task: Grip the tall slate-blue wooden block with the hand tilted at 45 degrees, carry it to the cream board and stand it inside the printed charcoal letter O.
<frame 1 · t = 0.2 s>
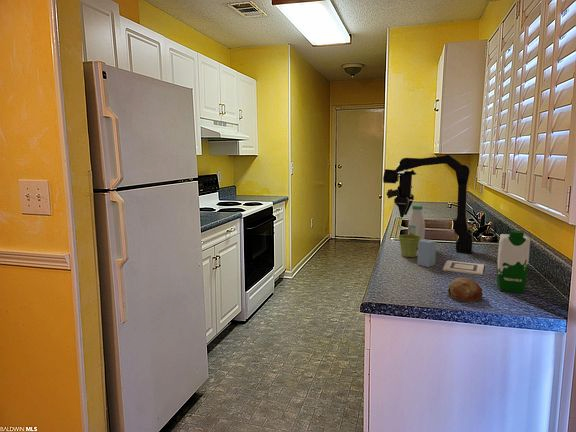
hand: (403, 216, 200), 15 cm above the worktop, tool pointing down, fingers open, 9 cm apart
bread roll: (464, 297, 131), on the worktop
milk carton: (510, 289, 138), on the worktop
plant pot: (408, 256, 183), on the worktop
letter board: (463, 268, 163), on the worktop
milk bottle: (415, 246, 200), on the worktop
blue block: (426, 264, 168), on the worktop
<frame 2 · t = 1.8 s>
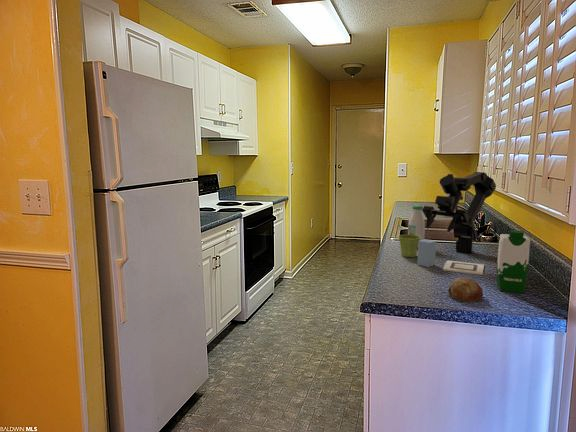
hand: (437, 229, 171), 13 cm above the worktop, tool tilted 45°, fingers open, 9 cm apart
nothing on the worktop moved.
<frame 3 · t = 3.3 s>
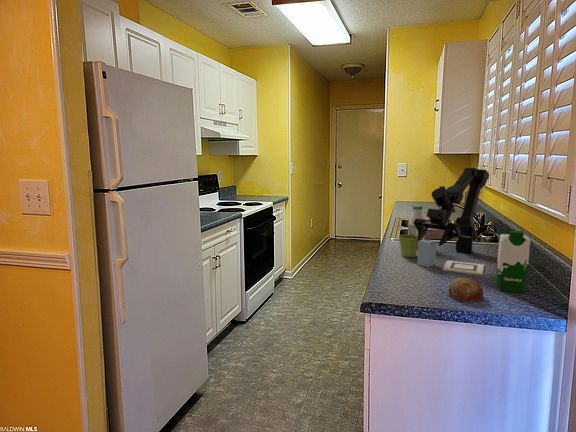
hand: (428, 243, 167), 9 cm above the worktop, tool tilted 45°, fingers open, 9 cm apart
nothing on the worktop moved.
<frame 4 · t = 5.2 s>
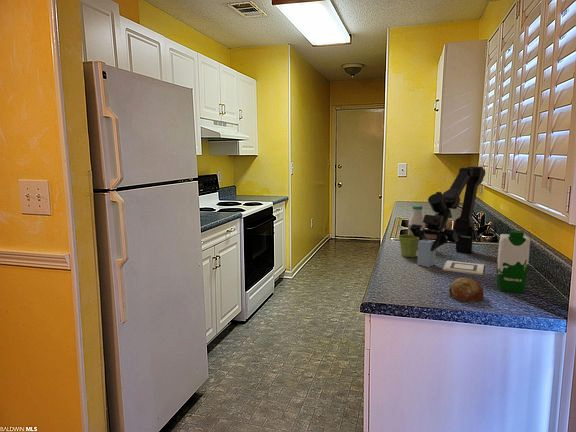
hand: (425, 249, 166), 7 cm above the worktop, tool tilted 45°, fingers closed on blue block, 5 cm apart
blue block: (426, 264, 168), on the worktop, touching gripper
everything else where it was.
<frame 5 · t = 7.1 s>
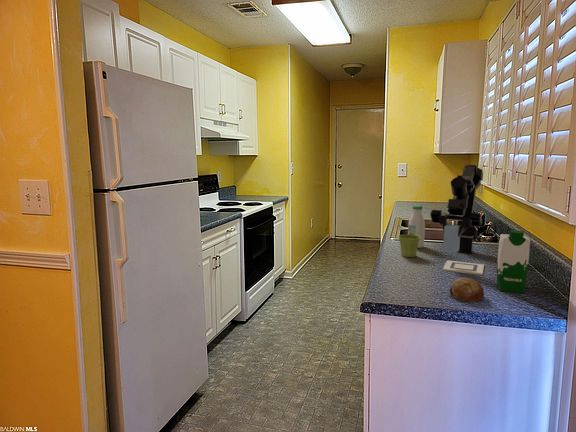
hand: (451, 235, 161), 13 cm above the worktop, tool tilted 45°, fingers closed on blue block, 5 cm apart
blue block: (451, 250, 163), point 7 cm above the worktop, touching gripper
everything else where it was.
when the fingers open (8 cm above the worktop, at t = 9.5 s): blue block drops 1 cm, resting on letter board.
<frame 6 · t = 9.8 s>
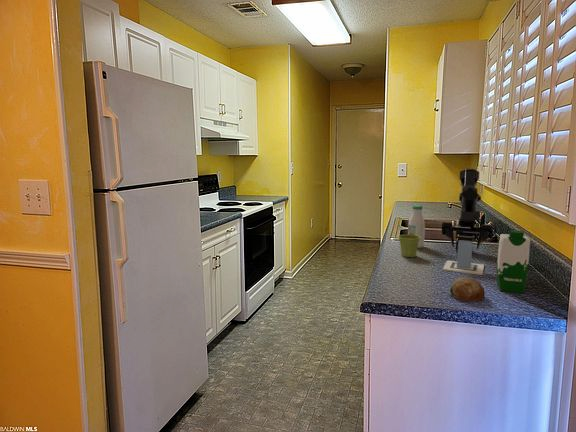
hand: (465, 247, 161), 9 cm above the worktop, tool tilted 45°, fingers open, 8 cm apart
blue block: (463, 266, 163), point 1 cm above the worktop, touching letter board
everything else where it was.
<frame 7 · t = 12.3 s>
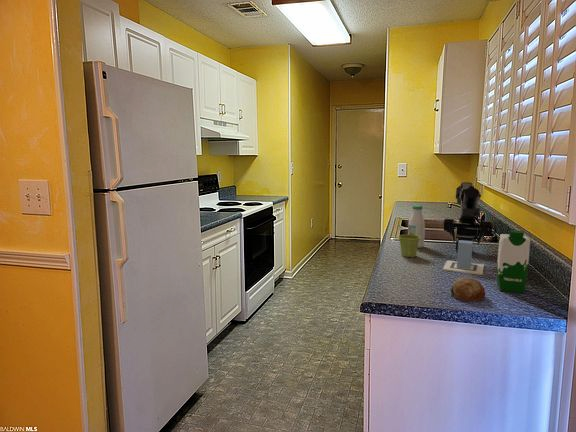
hand: (466, 242, 169), 9 cm above the worktop, tool tilted 45°, fingers open, 9 cm apart
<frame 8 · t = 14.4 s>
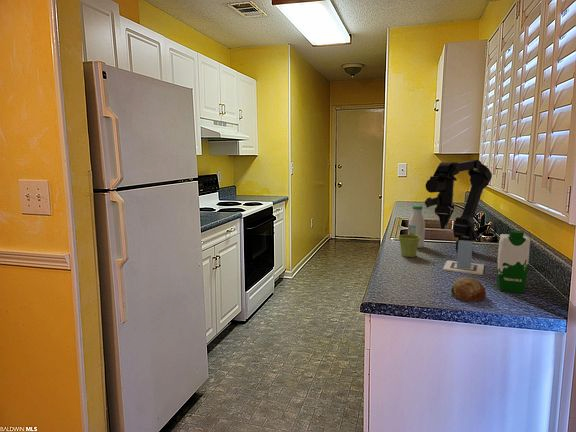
hand: (443, 227, 180), 13 cm above the worktop, tool pointing down, fingers open, 9 cm apart
at the end: blue block 0.0 cm off-centre on the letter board, point 0.6 cm above the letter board's base; blue block tilted 0°; the gripper is holding nothing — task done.
